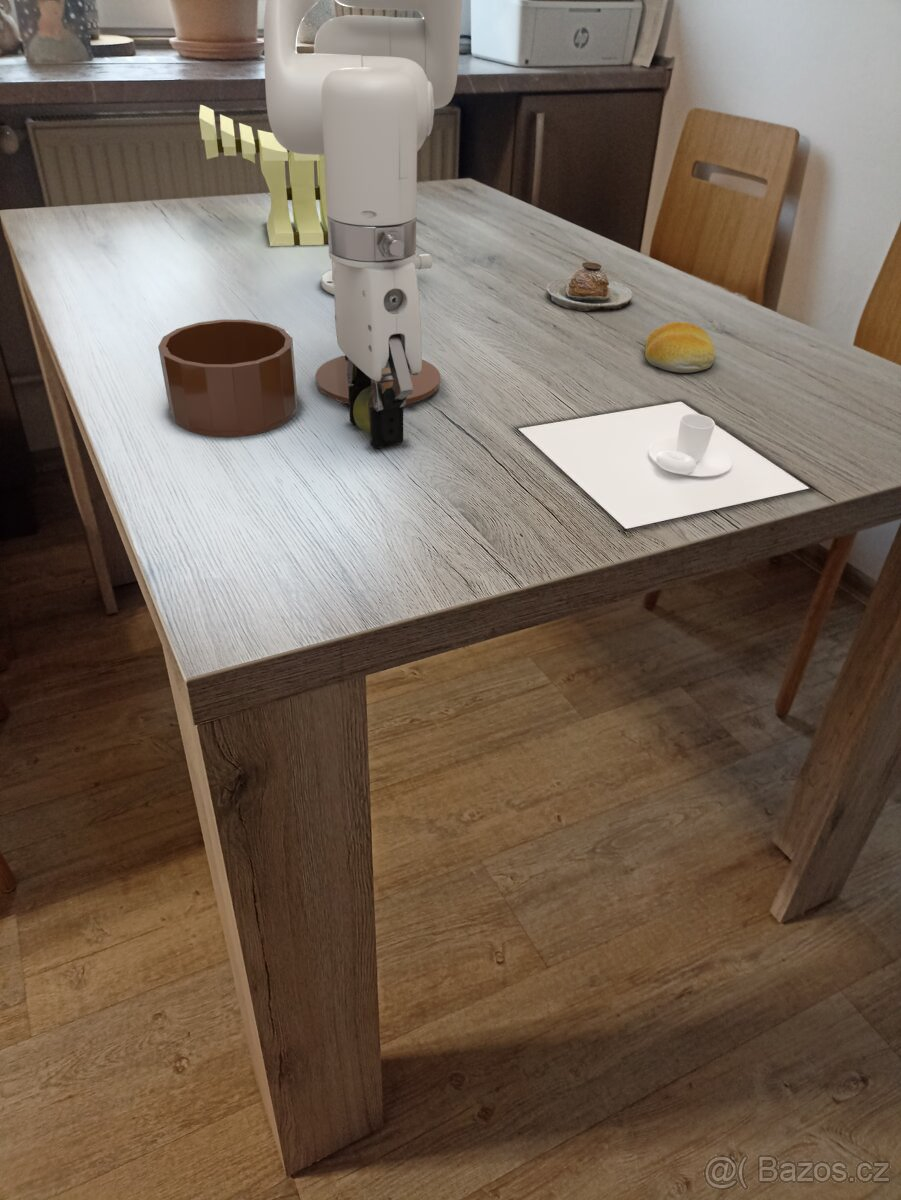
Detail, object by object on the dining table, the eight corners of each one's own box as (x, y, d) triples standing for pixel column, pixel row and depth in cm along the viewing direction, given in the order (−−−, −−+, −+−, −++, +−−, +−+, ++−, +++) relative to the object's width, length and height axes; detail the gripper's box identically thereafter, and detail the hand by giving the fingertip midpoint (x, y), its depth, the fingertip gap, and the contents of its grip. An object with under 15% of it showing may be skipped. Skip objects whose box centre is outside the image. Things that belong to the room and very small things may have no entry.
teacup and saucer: (672, 488, 77) (681, 448, 75) (624, 449, 83) (631, 411, 81) (749, 472, 80) (760, 433, 78) (698, 436, 86) (706, 398, 84)
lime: (395, 423, 86) (395, 376, 83) (401, 445, 82) (401, 396, 79) (351, 424, 86) (349, 377, 83) (355, 447, 82) (354, 398, 79)
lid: (408, 354, 101) (408, 302, 97) (461, 399, 91) (464, 342, 88) (298, 372, 96) (294, 317, 92) (343, 421, 86) (340, 362, 82)
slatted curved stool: (389, 218, 151) (388, 103, 140) (404, 243, 139) (405, 118, 128) (215, 221, 145) (200, 101, 135) (215, 247, 133) (199, 117, 122)
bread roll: (644, 371, 99) (650, 338, 97) (644, 344, 106) (649, 312, 104) (716, 379, 98) (724, 345, 96) (711, 351, 105) (718, 318, 103)
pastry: (550, 281, 125) (554, 249, 122) (633, 289, 123) (638, 257, 121) (541, 307, 116) (544, 273, 113) (630, 316, 114) (635, 281, 111)
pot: (275, 377, 94) (269, 313, 90) (314, 423, 86) (309, 355, 81) (159, 395, 89) (146, 328, 85) (188, 446, 81) (176, 375, 76)
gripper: (456, 261, 68) (449, 463, 80) (373, 211, 80) (377, 394, 91) (370, 271, 66) (374, 479, 77) (297, 218, 77) (310, 405, 88)
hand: (376, 431), depth 84 cm, fingers closed on lime, 4 cm apart
